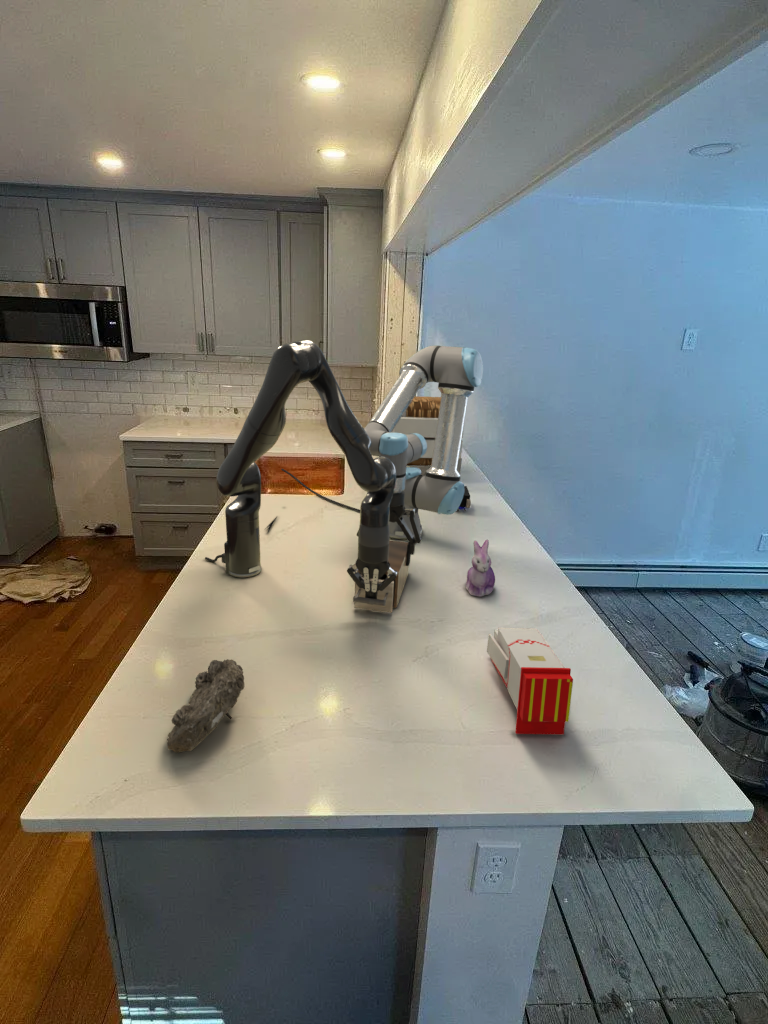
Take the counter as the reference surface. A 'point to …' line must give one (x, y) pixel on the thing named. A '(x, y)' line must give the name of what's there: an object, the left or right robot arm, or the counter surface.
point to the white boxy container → (423, 426)
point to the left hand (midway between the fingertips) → (371, 602)
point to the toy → (532, 679)
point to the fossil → (206, 705)
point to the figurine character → (465, 500)
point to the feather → (270, 524)
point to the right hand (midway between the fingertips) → (387, 561)
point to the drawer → (379, 604)
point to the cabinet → (398, 567)
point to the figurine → (480, 572)
